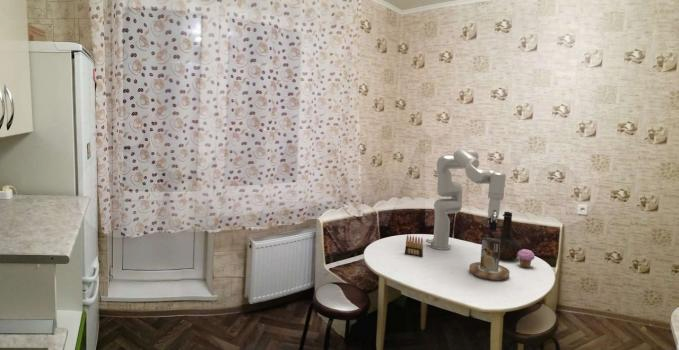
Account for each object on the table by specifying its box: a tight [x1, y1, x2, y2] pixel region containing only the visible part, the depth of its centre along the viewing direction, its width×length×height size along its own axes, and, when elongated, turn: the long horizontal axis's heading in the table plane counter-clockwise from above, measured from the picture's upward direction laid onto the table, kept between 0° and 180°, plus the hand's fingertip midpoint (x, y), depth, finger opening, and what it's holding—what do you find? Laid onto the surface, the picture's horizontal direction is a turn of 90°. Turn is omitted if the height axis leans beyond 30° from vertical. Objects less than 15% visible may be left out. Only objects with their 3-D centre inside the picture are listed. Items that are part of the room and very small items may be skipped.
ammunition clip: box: [404, 234, 424, 258], centre depth 239 cm, size 11×2×12 cm, turn 60°
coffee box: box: [479, 236, 500, 272], centre depth 213 cm, size 9×6×16 cm
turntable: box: [469, 261, 511, 281], centre depth 214 cm, size 20×20×2 cm
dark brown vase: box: [493, 211, 523, 261], centre depth 240 cm, size 18×18×28 cm
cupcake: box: [517, 248, 535, 269], centre depth 227 cm, size 9×9×10 cm
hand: (492, 227), depth 211 cm, fingers open, 9 cm apart
